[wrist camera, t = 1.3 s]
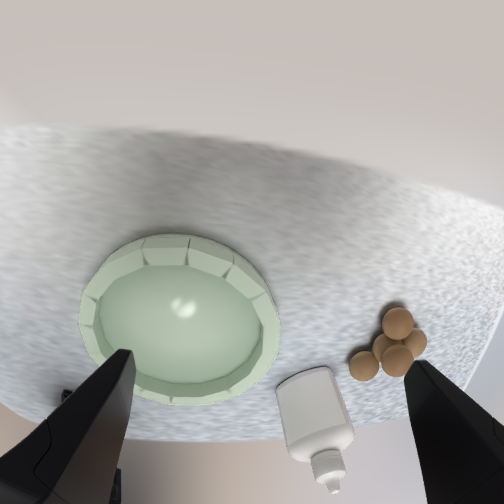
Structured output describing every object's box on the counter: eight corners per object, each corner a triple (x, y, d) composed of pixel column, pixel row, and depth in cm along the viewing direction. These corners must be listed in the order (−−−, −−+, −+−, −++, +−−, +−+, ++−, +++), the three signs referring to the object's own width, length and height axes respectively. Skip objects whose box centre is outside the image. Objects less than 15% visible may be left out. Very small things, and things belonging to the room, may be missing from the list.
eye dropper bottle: (277, 368, 28) (302, 487, 17) (337, 363, 28) (379, 472, 18) (273, 398, 30) (293, 507, 19) (328, 393, 30) (361, 494, 19)
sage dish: (233, 400, 29) (234, 419, 27) (81, 355, 26) (73, 373, 23) (308, 274, 24) (316, 291, 22) (109, 203, 20) (97, 214, 18)
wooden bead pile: (386, 373, 30) (404, 407, 25) (339, 364, 28) (355, 403, 24) (432, 313, 27) (458, 345, 23) (387, 296, 26) (413, 332, 21)
